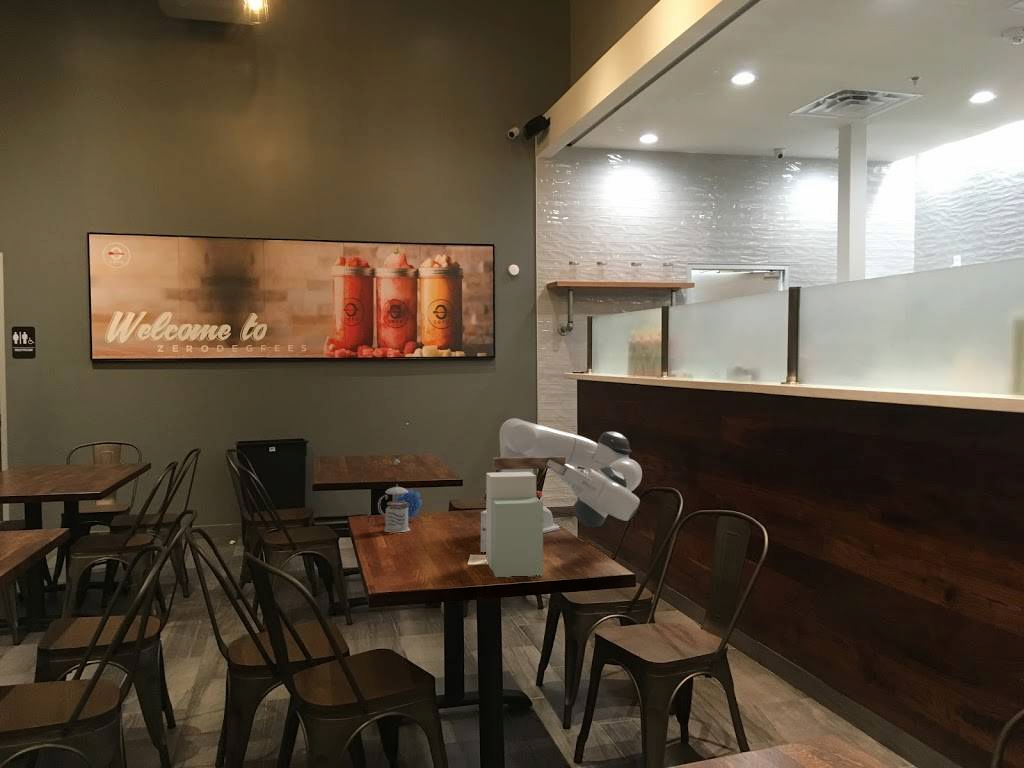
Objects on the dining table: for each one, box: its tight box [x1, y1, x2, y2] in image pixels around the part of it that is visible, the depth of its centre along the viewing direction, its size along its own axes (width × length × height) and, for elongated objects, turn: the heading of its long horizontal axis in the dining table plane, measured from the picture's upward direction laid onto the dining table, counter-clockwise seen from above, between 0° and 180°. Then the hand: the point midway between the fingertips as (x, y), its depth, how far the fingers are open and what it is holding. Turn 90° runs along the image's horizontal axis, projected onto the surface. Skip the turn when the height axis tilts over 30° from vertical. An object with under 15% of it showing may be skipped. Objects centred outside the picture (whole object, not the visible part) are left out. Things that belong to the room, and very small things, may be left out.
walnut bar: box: [492, 456, 566, 471], centre depth 213 cm, size 20×3×3 cm, turn 100°
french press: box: [377, 459, 411, 533], centre depth 269 cm, size 10×12×25 cm
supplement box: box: [480, 509, 486, 553], centre depth 238 cm, size 7×7×13 cm
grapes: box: [392, 488, 423, 522], centre depth 286 cm, size 12×7×12 cm, turn 108°
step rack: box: [485, 471, 544, 578], centre depth 218 cm, size 13×19×26 cm
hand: (545, 460), depth 214 cm, fingers closed on walnut bar, 3 cm apart
